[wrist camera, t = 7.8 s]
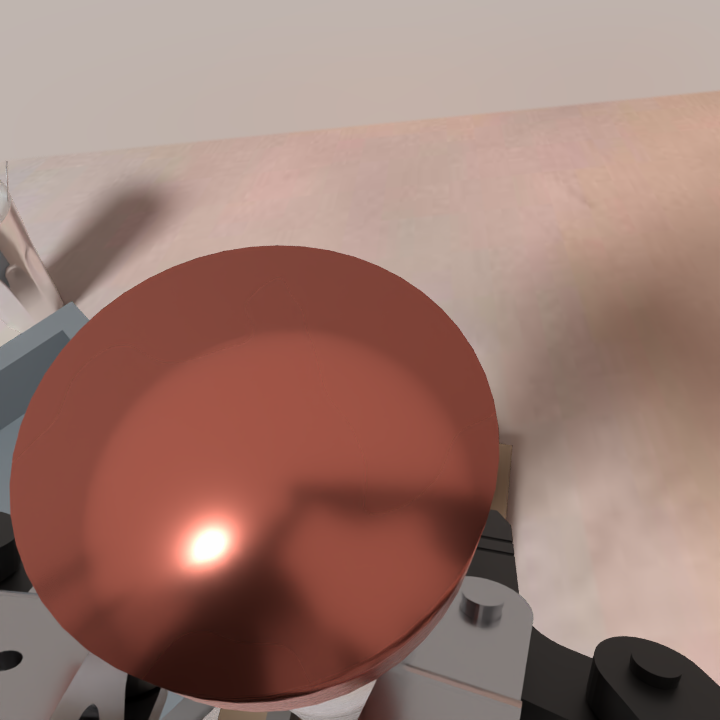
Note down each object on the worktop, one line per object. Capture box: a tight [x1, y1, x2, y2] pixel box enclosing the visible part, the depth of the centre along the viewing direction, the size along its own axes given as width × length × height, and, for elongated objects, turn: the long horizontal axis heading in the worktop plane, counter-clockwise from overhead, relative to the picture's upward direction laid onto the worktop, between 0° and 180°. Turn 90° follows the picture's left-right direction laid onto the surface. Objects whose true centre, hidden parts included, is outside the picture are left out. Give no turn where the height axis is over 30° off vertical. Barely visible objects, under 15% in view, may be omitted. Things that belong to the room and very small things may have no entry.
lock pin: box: [9, 245, 499, 720], centre depth 11 cm, size 4×4×13 cm
